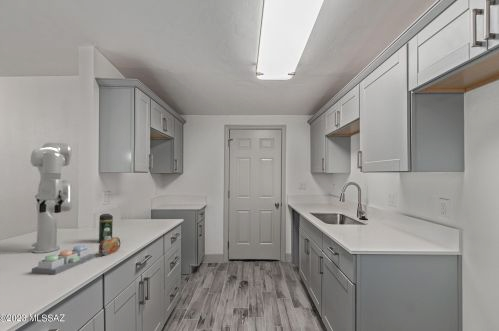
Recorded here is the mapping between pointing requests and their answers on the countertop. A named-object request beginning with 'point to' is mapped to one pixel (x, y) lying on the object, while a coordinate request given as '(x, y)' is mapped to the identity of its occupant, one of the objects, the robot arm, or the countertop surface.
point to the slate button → (78, 248)
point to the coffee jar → (105, 227)
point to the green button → (51, 258)
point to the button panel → (63, 263)
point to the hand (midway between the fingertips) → (50, 212)
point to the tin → (109, 246)
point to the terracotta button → (66, 253)
